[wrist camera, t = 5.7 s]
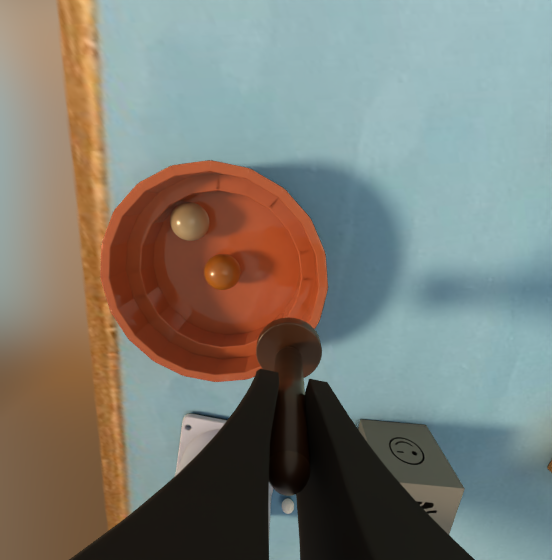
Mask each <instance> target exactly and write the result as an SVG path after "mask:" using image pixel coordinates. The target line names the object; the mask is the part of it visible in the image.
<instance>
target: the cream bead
mask: <svg viewBox="0 0 552 560" xmlns="http://www.w3.org/2000/svg"><path fill="white" fill-rule="evenodd" d="M170 225H171V228H172V230H173V232H174V233H175V234H176V235H177V236H178V237H179V238H181V239H183V240H187V241H195V240H198V239H200V238H202V237H203V236H204V235H205V234H206V233H207V231H208V228H209V217H208V214H207V212H206V211H205V210H204V209H203V208H202V207H201V206H200V205H198V204H196V203H192V202H185V203H182V204H179V205H178V206H177V207H175V208H174V210H173V211H172V213H171V216H170Z"/></svg>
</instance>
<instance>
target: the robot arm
mask: <svg viewBox="0 0 552 560" xmlns="http://www.w3.org/2000/svg"><path fill="white" fill-rule="evenodd" d="M278 390H279V373H278V372H274V371H270V370H265V369H259V370H257V371H256V375H255V378H254V380H253V382H252V384H251V386H250V388H249V390H248V391H247V393H246V395H245V396H244V398H243V399H242V401H241V402H240V404H239V405H238V407H237V408H236V410H235V411H234V412H233V414H232V415H231V416H230V418H229V419H228V420H222V419H217V418H211V417H206V416H201V415H196V414H186V415H185V416H184V419H183V422H182V430H181V438H180V445H179V453H178V461H177V468H176V474H175V476H174V478H173V479H172V480H171V481H169V482H168V483H167V484H166V485H165V486H164V487H163V488H161V489H160V490H159V491H158V492H157V493H155V494H154V495H153V496H152V497H151V498H149V499H148V500H147V501H146V502H145V503H144V504H142V505H141V506H140V507H139V508H138V509H136V510H135V511H134V512H133V513H132V514H130V515H129V516H128V517H126V518H125V519H124V520H123V521H121V522H120V523H119V524H117V525H116V526H115V527H113V528H112V529H110V530H109V531H108V532H106V533H105V534H104V535H102V536H101V537H100V538H98V539H97V540H96V541H94V542H93V543H92V544H90V545H89V546H87V547H86V548H85V549H83V550H82V551H81V552H79V553H78V554H77V555H75V556H74V557H72V558H71V559H70V560H269V530H270V511H271V496H272V492H273V487H272V486H271V485H270V483H269V452H270V438H271V430H272V424H273V418H274V413H275V407H276V401H277V395H278ZM305 407H306V419H307V430H308V443H309V456H310V477H309V481H308V483H307V485H306V486H305V488H304V489H303V490H302V491H301V492H299V493H297V494H296V496H297V510H298V524H299V538H300V560H474V559H473V558H472V557H471V556H470V555H469V554H468V553H467V552H466V551H465V550H464V549H463V548H462V547H461V546H460V545H459V544H458V543H456V542H455V541H454V540H453V539H452V538H451V537H450V536H449V535H448V534H447V533H446V532H445V531H444V530H443V529H442V528H441V527H440V526H439V525H438V524H437V522H436V521H435V520H434V519H433V518H432V517H431V516H430V515H429V514H428V513H427V512H426V511H425V510H424V509H423V508H422V507H421V506H420V505H419V504H418V503H417V502H416V501H415V500H414V498H413V497H412V496H411V495H410V494H409V493H408V492H407V491H406V489H405V488H404V487H403V486H402V485H401V484H400V483H399V481H398V480H397V479H396V478H395V477H394V476H393V474H392V473H391V472H390V471H389V470H388V468H387V467H386V466H385V465H384V464H383V462H382V461H381V460H380V458H379V457H378V456H377V454H376V453H375V452H374V451H373V449H372V448H371V447H370V445H369V444H368V443H367V441H366V440H365V439H364V437H363V436H362V434H361V433H360V432H359V430H358V429H357V427H356V426H355V424H354V423H353V421H352V420H351V419H350V417H349V416H348V414H347V412H346V411H345V409H344V408H343V406H342V405H341V403H340V402H339V400H338V398H337V397H336V395H335V394H334V392H333V391H332V389H331V387H330V386H329V384H328V383H327V382H323V381H318V380H313V379H309V382H308V385H307V388H306V392H305ZM188 425H190V426H188Z"/></svg>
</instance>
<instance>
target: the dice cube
mask: <svg viewBox="0 0 552 560" xmlns="http://www.w3.org/2000/svg"><path fill="white" fill-rule="evenodd" d="M358 430H359V432H360V433H361V434H362V436H363V437H364V439H365V440H366V441H367V443H368V444H369V445H370V447H371V448H372V449H373V451H374V452H375V453H376V454H377V456H378V457H379V458H380V460H381V461H382V462H383V464H384V465H385V466H386V467H387V468H388V470H389V471H390V472H391V473H392V474H393V476H394V477H395V478H396V479H397V480H398V481H399V483H400V484H401V485H402V486H403V487H404V488H405V489H406V491H407V492H408V493H409V494H410V495H411V496H412V497H413V498H414V500H415V501H416V502H417V503H418V504H419V505H420V506H421V507H422V508H423V509H424V510H425V511H426V512H427V513H428V514H429V515H430V516H431V517H432V518H433V519H434V520H435V521H436V522H437V524H438V525H439V526H440V527H441V528H442V529H443V530H444V531H445V532H446V533H447V534H448V535H449V533H450V530H451V527H452V524H453V521H454V518H455V515H456V512H457V509H458V507H459V504H460V501H461V498H462V495H463V492H464V489H465V488H464V487H463V485H462V484H461V482H460V480H459V479H458V477H457V475H456V474H455V472H454V470H453V469H452V467H451V465H450V464H449V462H448V460H447V459H446V457H445V455H444V454H443V452H442V450H441V449H440V447H439V446H438V444H437V442H436V441H435V439H434V437H433V436H432V434H431V432H430V431H429V429H428V427H427V426H426V425H419V424H408V423H397V422H385V421H374V420H363V419H360V423H359V428H358Z"/></svg>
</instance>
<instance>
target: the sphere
mask: <svg viewBox="0 0 552 560" xmlns="http://www.w3.org/2000/svg"><path fill="white" fill-rule="evenodd" d="M282 510H283V511H284V512H285V513H287V514H290V513H292V511H293V510H294V503H293V501H292V500H291V499H289V498H287V499H284V501H283V502H282Z"/></svg>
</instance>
